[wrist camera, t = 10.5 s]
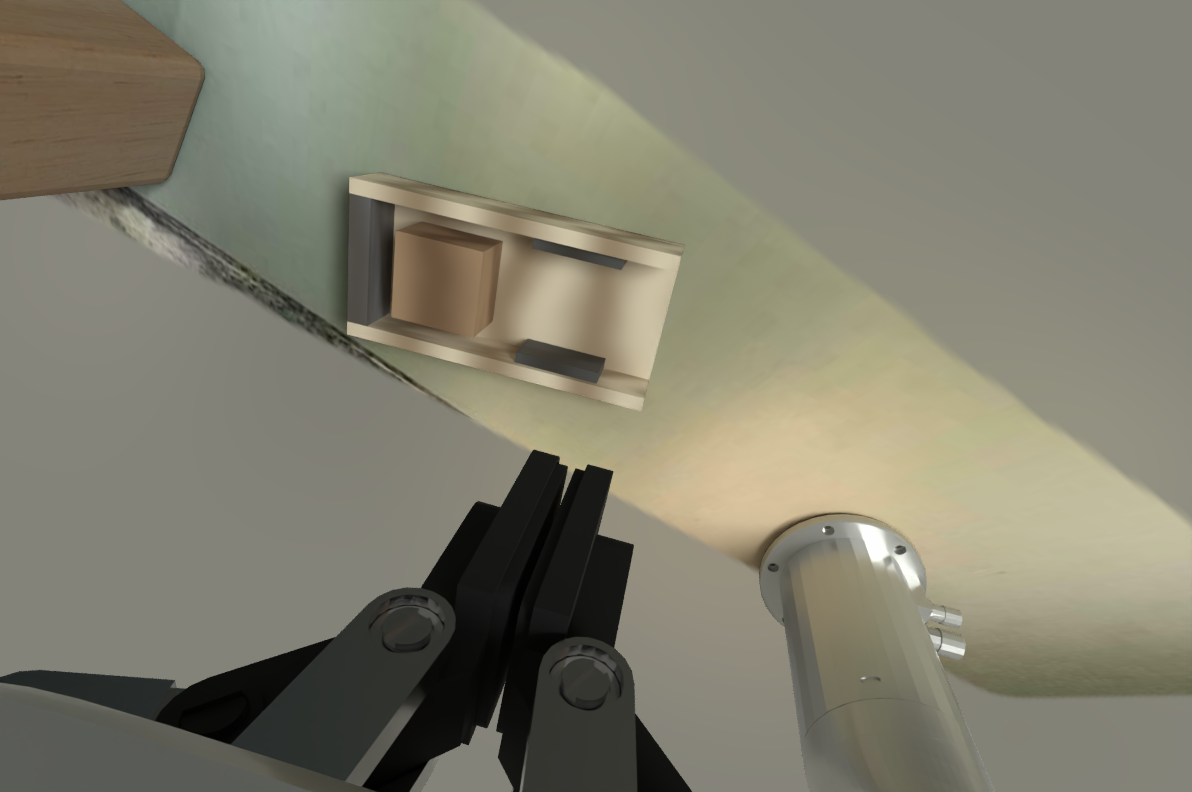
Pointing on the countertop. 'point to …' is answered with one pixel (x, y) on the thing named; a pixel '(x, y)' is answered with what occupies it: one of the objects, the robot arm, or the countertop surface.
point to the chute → (521, 290)
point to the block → (89, 97)
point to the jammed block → (445, 278)
